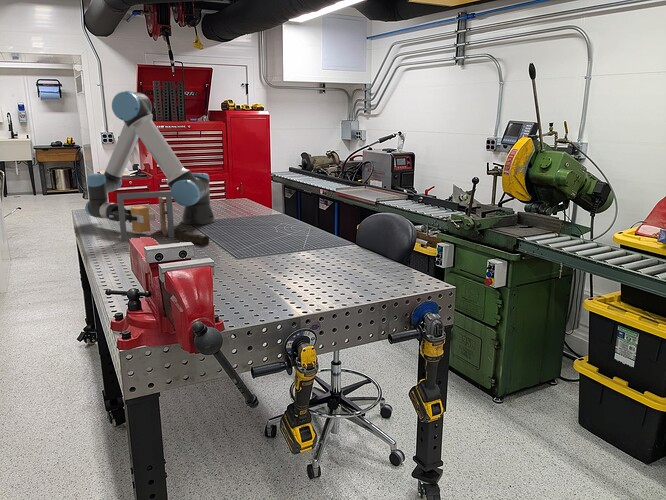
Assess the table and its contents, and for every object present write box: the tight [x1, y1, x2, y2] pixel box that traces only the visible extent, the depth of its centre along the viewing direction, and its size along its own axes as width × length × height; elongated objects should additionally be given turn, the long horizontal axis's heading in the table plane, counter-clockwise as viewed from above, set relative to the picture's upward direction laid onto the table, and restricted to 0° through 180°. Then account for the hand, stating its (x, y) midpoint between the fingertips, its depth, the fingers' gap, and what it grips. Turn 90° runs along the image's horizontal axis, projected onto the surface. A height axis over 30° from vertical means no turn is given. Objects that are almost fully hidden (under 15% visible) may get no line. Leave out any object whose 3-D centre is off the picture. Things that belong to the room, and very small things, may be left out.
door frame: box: [116, 190, 175, 242], centre depth 203 cm, size 20×2×19 cm, turn 119°
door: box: [158, 197, 168, 236], centre depth 214 cm, size 14×3×14 cm, turn 23°
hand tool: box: [174, 227, 210, 247], centre depth 202 cm, size 19×4×5 cm, turn 53°
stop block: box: [130, 205, 151, 234], centre depth 211 cm, size 5×5×10 cm
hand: (148, 218), depth 208 cm, fingers closed on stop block, 5 cm apart
